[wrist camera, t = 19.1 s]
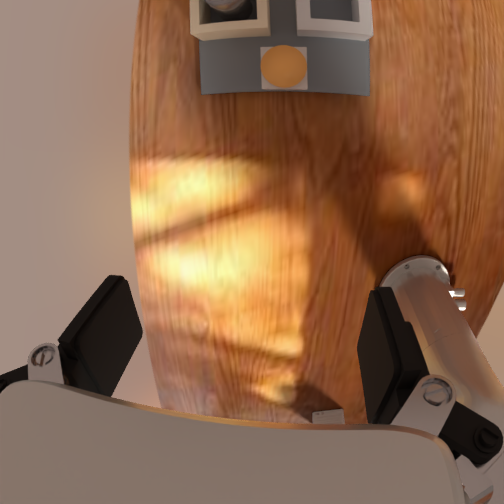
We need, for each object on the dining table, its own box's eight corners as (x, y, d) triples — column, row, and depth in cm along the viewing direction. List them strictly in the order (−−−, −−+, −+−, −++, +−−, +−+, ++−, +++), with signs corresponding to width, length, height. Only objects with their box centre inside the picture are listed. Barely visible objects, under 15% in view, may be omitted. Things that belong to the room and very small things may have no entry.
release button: (303, 53, 29) (306, 45, 24) (304, 89, 31) (307, 87, 26) (264, 53, 30) (259, 45, 25) (265, 88, 32) (261, 87, 27)
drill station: (361, -18, 25) (373, -35, 19) (366, 95, 33) (381, 96, 27) (200, -17, 27) (185, -33, 22) (204, 94, 35) (188, 95, 29)
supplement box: (344, 422, 65) (347, 466, 54) (314, 425, 67) (314, 470, 56) (344, 407, 62) (347, 455, 51) (311, 411, 63) (311, 459, 52)
